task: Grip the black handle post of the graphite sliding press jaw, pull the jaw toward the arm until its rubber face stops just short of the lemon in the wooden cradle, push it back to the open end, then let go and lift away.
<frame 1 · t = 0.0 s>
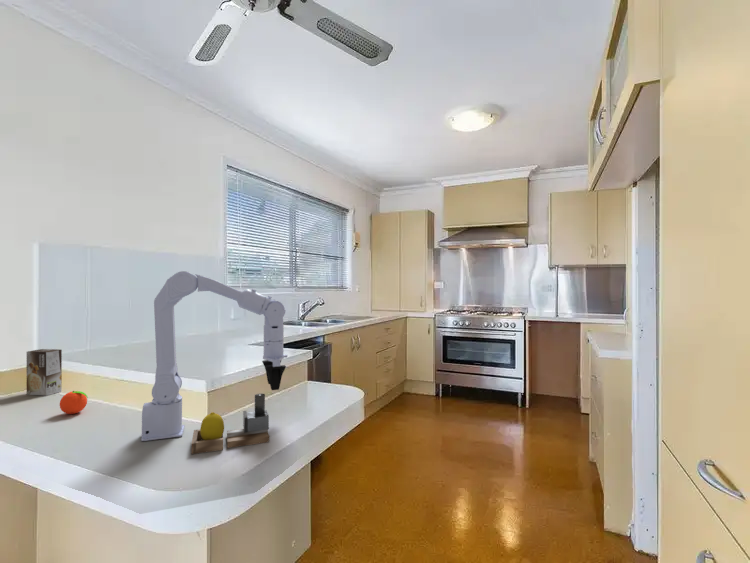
hand: (273, 386, 116), 10 cm above the worktop, tool pointing down, fingers open, 7 cm apart
coffee box: (44, 393, 147), on the worktop
clementine: (75, 414, 123), on the worktop
lemon cradle: (212, 444, 99), on the worktop
lemon: (212, 444, 99), resting in lemon cradle
press bed: (247, 439, 102), on the worktop
press jaw: (255, 411, 103), point 7 cm above the worktop, slide at 0.0 cm
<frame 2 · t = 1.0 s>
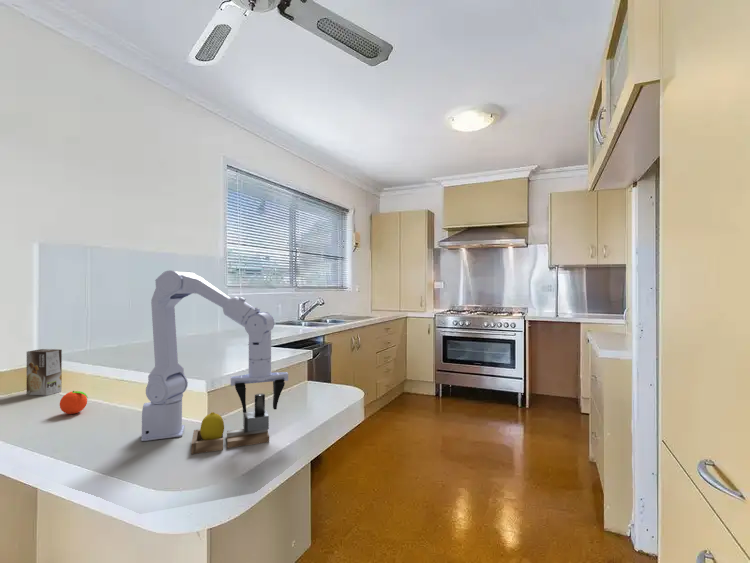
hand: (259, 410, 103), 7 cm above the worktop, tool pointing down, fingers open, 7 cm apart
nothing on the worktop moved.
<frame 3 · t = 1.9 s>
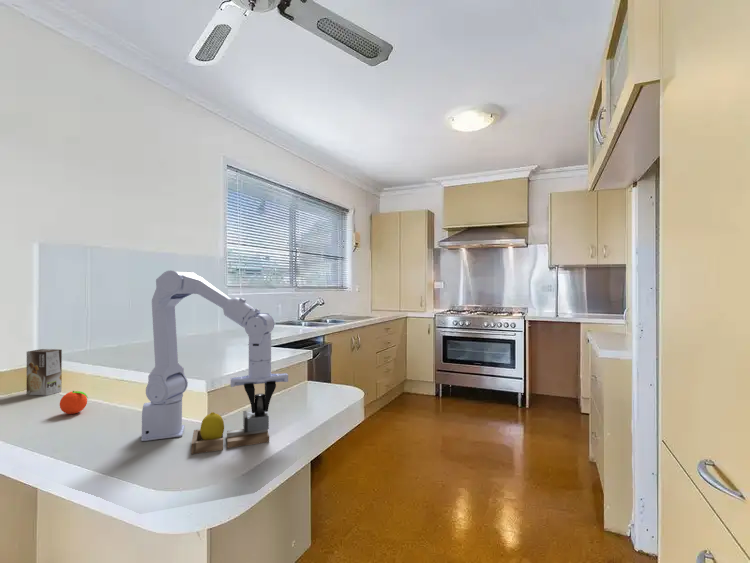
hand: (259, 411, 103), 7 cm above the worktop, tool pointing down, fingers closed on press jaw, 3 cm apart
press jaw: (255, 411, 103), point 7 cm above the worktop, slide at 0.0 cm, touching gripper
everything else where it was.
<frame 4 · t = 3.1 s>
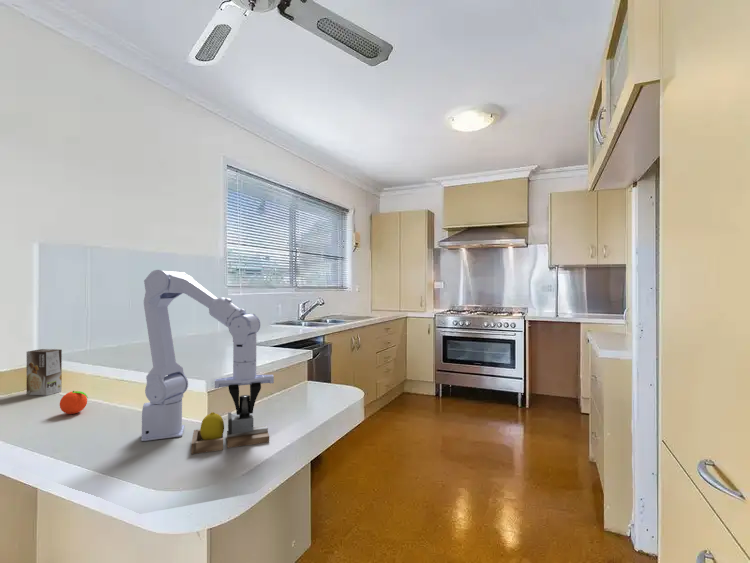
hand: (244, 413, 102), 7 cm above the worktop, tool pointing down, fingers closed on press jaw, 3 cm apart
press jaw: (240, 413, 101), point 7 cm above the worktop, slide at 3.8 cm, touching gripper
everything else where it was.
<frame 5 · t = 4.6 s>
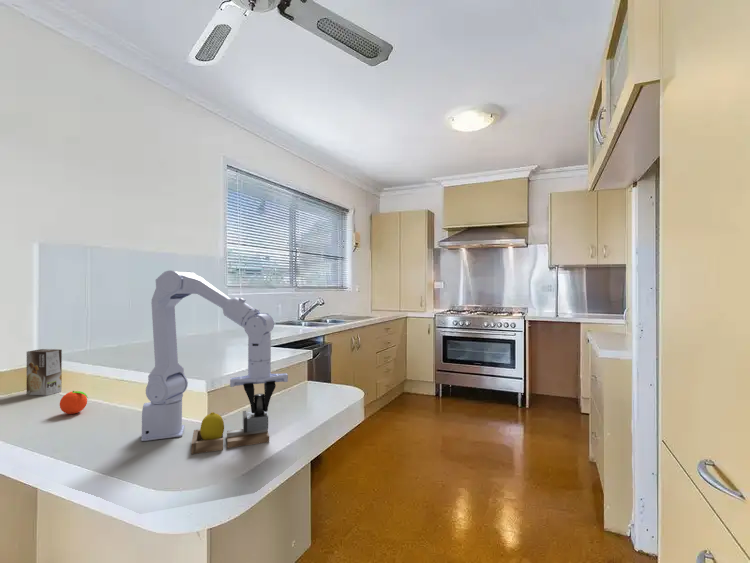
hand: (259, 411, 103), 7 cm above the worktop, tool pointing down, fingers closed on press jaw, 3 cm apart
press jaw: (255, 411, 103), point 7 cm above the worktop, slide at 0.1 cm, touching gripper
everything else where it was.
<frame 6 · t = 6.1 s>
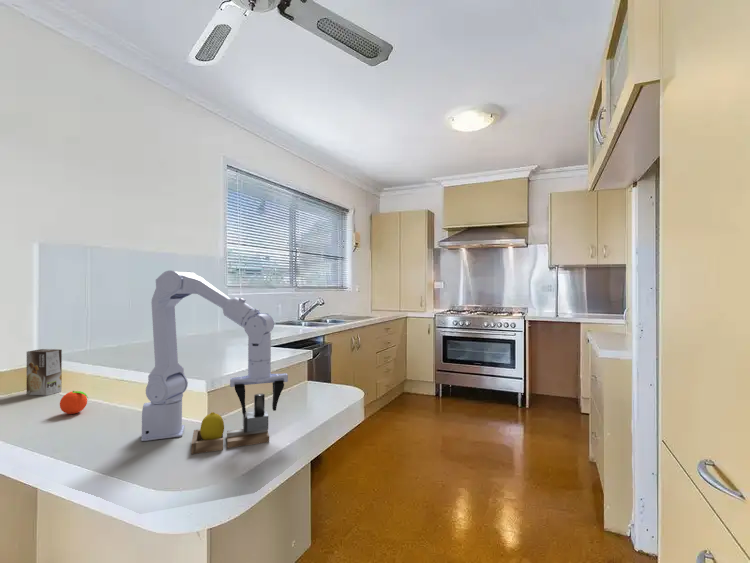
hand: (259, 411, 103), 7 cm above the worktop, tool pointing down, fingers open, 7 cm apart
press jaw: (255, 411, 103), point 7 cm above the worktop, slide at 0.1 cm
everything else where it was.
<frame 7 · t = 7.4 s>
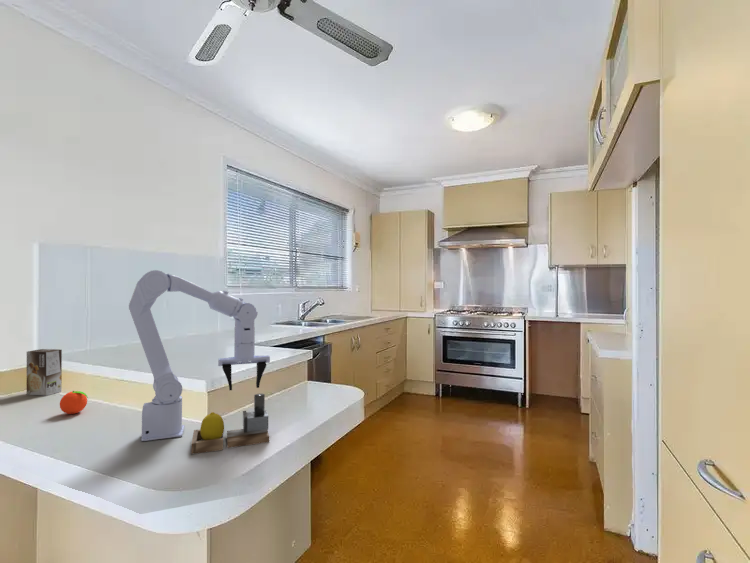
hand: (244, 388, 117), 9 cm above the worktop, tool pointing down, fingers open, 7 cm apart
nothing on the worktop moved.
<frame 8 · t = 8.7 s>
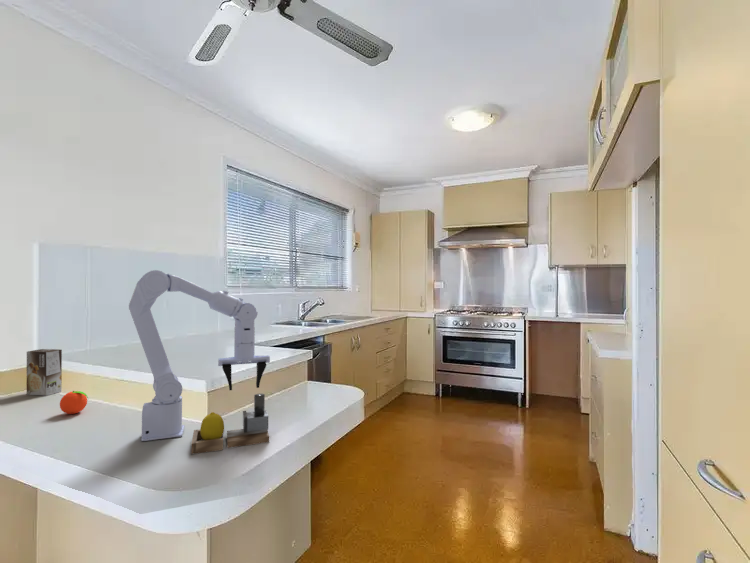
hand: (244, 388, 117), 9 cm above the worktop, tool pointing down, fingers open, 7 cm apart
nothing on the worktop moved.
at the end: press jaw slide at 0.1 cm; lemon moved 0.2 cm from its start; the gripper is holding nothing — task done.
